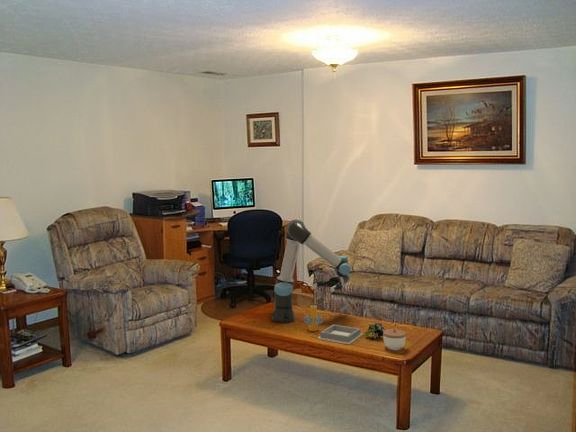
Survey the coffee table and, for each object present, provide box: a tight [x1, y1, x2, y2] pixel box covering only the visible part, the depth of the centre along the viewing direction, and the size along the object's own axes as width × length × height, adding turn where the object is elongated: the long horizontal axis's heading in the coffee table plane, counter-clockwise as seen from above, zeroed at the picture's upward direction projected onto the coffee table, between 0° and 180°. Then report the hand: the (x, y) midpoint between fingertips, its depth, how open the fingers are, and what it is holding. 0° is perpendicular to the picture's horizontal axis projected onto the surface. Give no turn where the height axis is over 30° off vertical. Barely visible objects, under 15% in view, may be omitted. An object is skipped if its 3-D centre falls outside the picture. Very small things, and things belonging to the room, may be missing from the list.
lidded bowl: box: [382, 328, 407, 351], centre depth 320 cm, size 13×13×11 cm
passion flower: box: [363, 322, 386, 340], centre depth 337 cm, size 11×11×12 cm
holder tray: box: [317, 324, 364, 345], centre depth 340 cm, size 20×20×4 cm
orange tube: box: [303, 305, 324, 332], centre depth 352 cm, size 12×10×15 cm
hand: (321, 288), depth 360 cm, fingers open, 13 cm apart
